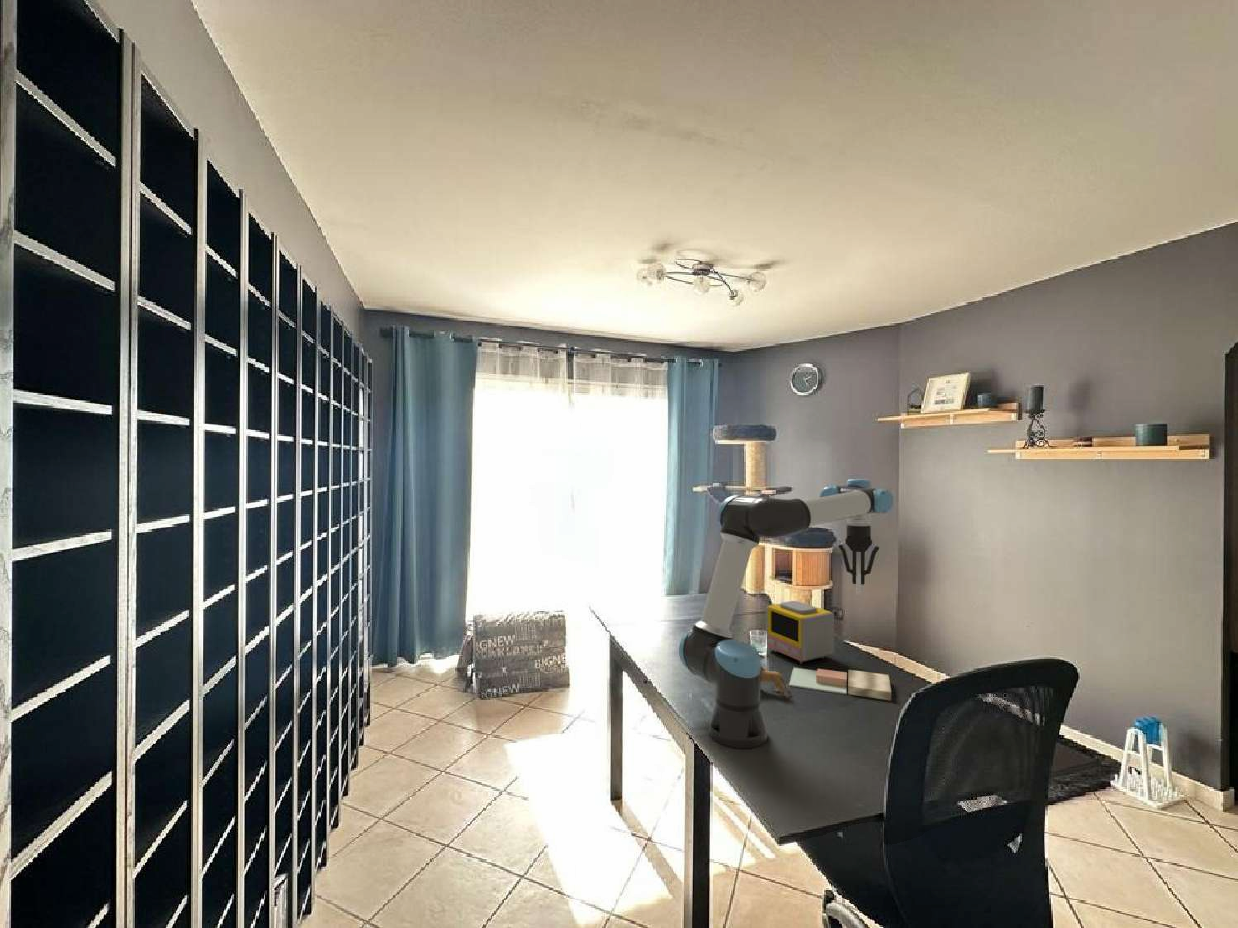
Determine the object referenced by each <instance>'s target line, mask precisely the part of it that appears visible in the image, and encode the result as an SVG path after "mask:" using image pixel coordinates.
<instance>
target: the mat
mask: <svg viewBox="0 0 1238 928" xmlns="http://www.w3.org/2000/svg"><path fill="white" fill-rule="evenodd" d="M816 674H817V670H813V669H806V668H800V667H793V669H792V672H791V675H790V681H789V683H788V686H789V687H792V688H801V689H805V690H806V689H807V690H813V691H820V692H821V691H822V692H827V693H834V694H841V695H847V692H848V684H847V685H846V687H842V686H836V685H829V684H822V683H816Z"/></svg>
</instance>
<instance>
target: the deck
mask: <svg viewBox="0 0 1238 928" xmlns="http://www.w3.org/2000/svg"><path fill="white" fill-rule="evenodd" d="M847 682H848V683H847V694H848V695H852V696H859V697H865V698H871V699H872V698H873V699H878V700H886V701H892V688H891V681H890V676H889V674H886V673H885V674H884V673H877V672H869V671H862V670H861V671H860V670H853V669H848V671H847Z"/></svg>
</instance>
